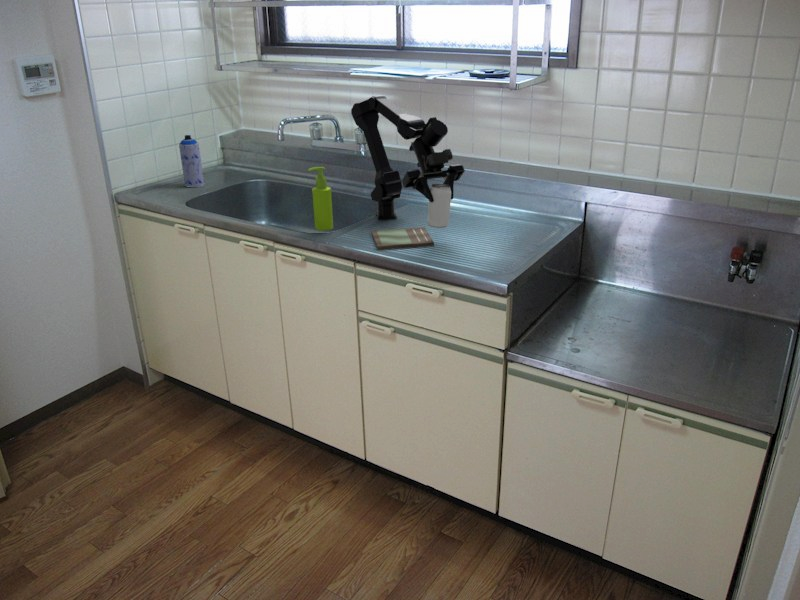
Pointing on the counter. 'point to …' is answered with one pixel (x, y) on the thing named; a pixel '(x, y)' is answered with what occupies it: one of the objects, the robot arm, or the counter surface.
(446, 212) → the can
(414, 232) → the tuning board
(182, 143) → the aerosol can
